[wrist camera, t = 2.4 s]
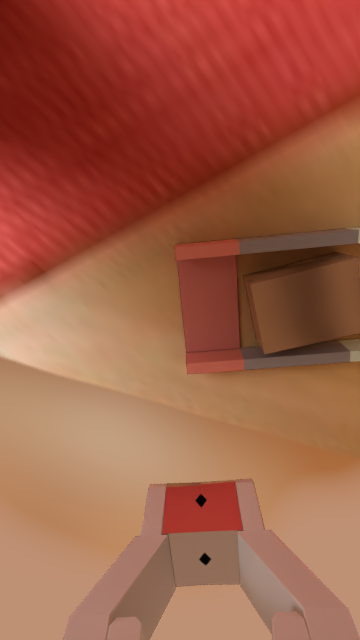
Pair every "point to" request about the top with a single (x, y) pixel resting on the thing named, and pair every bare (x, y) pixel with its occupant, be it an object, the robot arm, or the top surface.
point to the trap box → (222, 304)
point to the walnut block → (305, 302)
